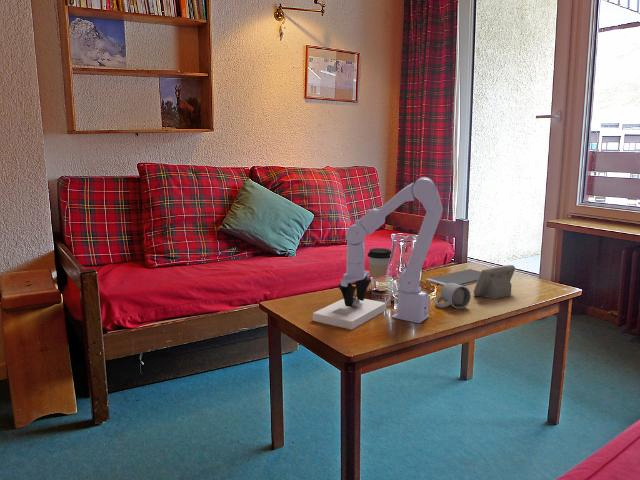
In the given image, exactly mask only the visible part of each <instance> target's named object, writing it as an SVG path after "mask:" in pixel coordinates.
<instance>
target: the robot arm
mask: <svg viewBox="0 0 640 480" xmlns="http://www.w3.org/2000/svg"><path fill="white" fill-rule="evenodd" d="M415 199H417V200H418V201H419V202H420V203H421V205H422V206H423V209H424V210H425V215H424V217H423V220H422V224H421V226H420V228H419V232H418V233H417V237H416V240H415V243H414V244H413V247H412V251H411V254H410V256H409V259H408V261H407V263H406V266H405V267H403V268H402V269H401V272H400V276H399V279H398V285H399V286H398V287H397V304H396V305H397V307H396V308H397V311H396V313H395V314H393V315H392V316H391V318H393V319H397V320H402V321H407V322H412V323H415V324H420V323H422V322H424V321H425V320H426V319H428V318H430V314H429V313H430V312H429V310H430V294H429V293H428V292H424V291H423V290H422V287H421V286H420V285H421V281H420V280H421V272H422V269H423V266H424V263H425V261H426V257H427V255H428V252H429V249H430V247H431V244H432V241H433V239H434V236H435V233H436V230H437V227H438V226H439V225H438V224H439V223H440V221H441V217H442V214H443V211H444V208H443V204H442V201H441V196H440V193H439V190H438V186H437V185H436V184H435V182H434V181H433V179H431V178H430V177H427V176H422V177H419V178H417V179H416V181H415V182H411V183H410V184H408V185H406V186H405V187H404V188H402V189H401V190H399V191H398V192H397V193H396V194H395V195H393V197H391V198H390V199H389V200H387V202H385V203H384V204H383V205H382V206H380V207H379V208H372V209H367V210H366V212H365V213H366V214H364V215H363V216H362V217H360V219H356V220H354V224H352V225H351V226H349V228H347V230H346V233H345V238H346V239H345V240H346V241H347V242H346V245H347V246H346V269H345V270H346V273H343V278H342V279H340V283H339V284H338V289H339V290H340V292H341V294H342V297H343V299H344V302H345V306H348V307H352V304H353V297H355V296H354V295H355V292H356V297H357V298H358V299H359V300H361V301H364V299H366V298H365V297H366V294H367V291H368V290H367V289H368V288H369V286H370V285H371V278H369V277H370V270H365V257H366V255H365V253H366V252H365V251H366V249H365V238H366V236H370V235H371V234H372V233H374V232H375V231H376V230H377V229H379V228H380V227H381V226H383V225H384V224H385V222H386V217H387V216H388V215H389V214H391V213H392V212H393V211H395V210H396V209H397V208H399V207H400V206H401V205H403V204H404V203H406V202H413V201H415ZM353 283H355V284H354V285H353Z"/></svg>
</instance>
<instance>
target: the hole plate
mask: <svg viewBox="0 0 640 480" xmlns="http://www.w3.org/2000/svg"><path fill="white" fill-rule="evenodd" d="M359 301H360V304H359V306H358V307H357V308H352V307H348V306H345V302H344V298H343V299H342V298H341V299H340V300H338V301H335V302H334V303H330V304H328V305H327V306H325V307H322V308H320V309H318V310H317V311H314V312H312V321H314V322H317V323H321V324H326V325H330V326H334V327H339V328H343V329H348V330H354V329H356V328H357V327H359V326H361V325H363V324H365V323H366V322H368V321H369V320H371V319H373V318H375V317H376V316H378V315H381V314H382V313H384V312H386V311H387V302H384V301H379V300H373V299H369V298H364V301H361V300H359Z"/></svg>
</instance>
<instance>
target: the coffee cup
mask: <svg viewBox="0 0 640 480" xmlns="http://www.w3.org/2000/svg"><path fill="white" fill-rule="evenodd" d="M391 253H392V250H391V249H389V248H378V247H377V248H370V249H369V251H368V252H367V257H368V261H369V262H368V265H369V266H368V267H369V277H370V279H371V277H374V276H385V275H386V271H387V264H388V261H389V258H390V254H391Z"/></svg>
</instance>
